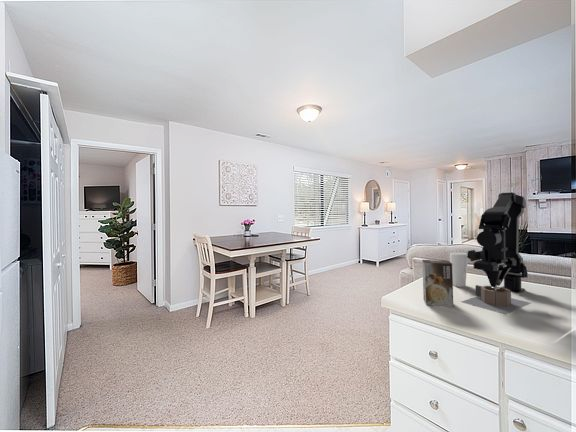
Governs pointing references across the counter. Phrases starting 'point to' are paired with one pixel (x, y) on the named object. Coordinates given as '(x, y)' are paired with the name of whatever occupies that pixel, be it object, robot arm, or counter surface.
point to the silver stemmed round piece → (496, 285)
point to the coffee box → (437, 283)
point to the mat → (500, 309)
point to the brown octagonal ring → (494, 295)
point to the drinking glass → (459, 268)
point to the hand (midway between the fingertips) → (495, 286)
